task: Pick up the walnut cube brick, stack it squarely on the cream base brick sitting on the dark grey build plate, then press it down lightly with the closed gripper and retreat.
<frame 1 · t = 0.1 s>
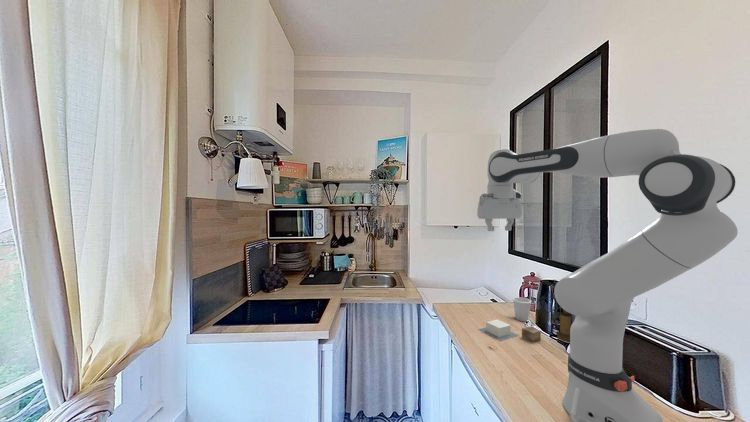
hand: (499, 230, 101), 48 cm above the countertop, fingers open, 8 cm apart
dixie cup: (521, 319, 137), on the countertop
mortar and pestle: (565, 340, 115), on the countertop
walnut brick: (531, 341, 114), on the countertop
base brick: (498, 332, 120), point 1 cm above the countertop, touching build plate
build plate: (498, 334, 120), on the countertop
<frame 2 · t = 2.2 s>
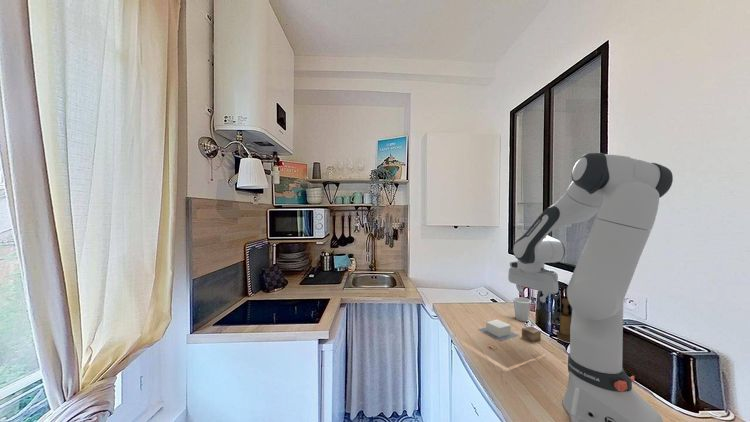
hand: (531, 298, 114), 18 cm above the countertop, fingers open, 8 cm apart
nothing on the countertop moved.
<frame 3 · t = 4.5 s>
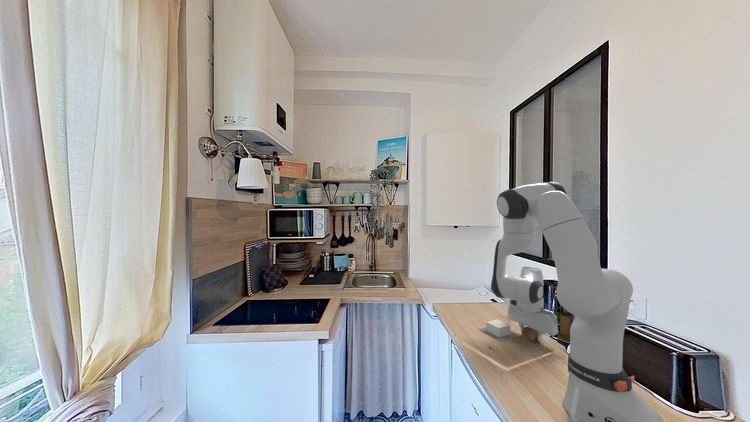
hand: (531, 337, 114), 2 cm above the countertop, fingers closed on walnut brick, 5 cm apart
walnut brick: (531, 340, 114), on the countertop, touching gripper
everything else where it was.
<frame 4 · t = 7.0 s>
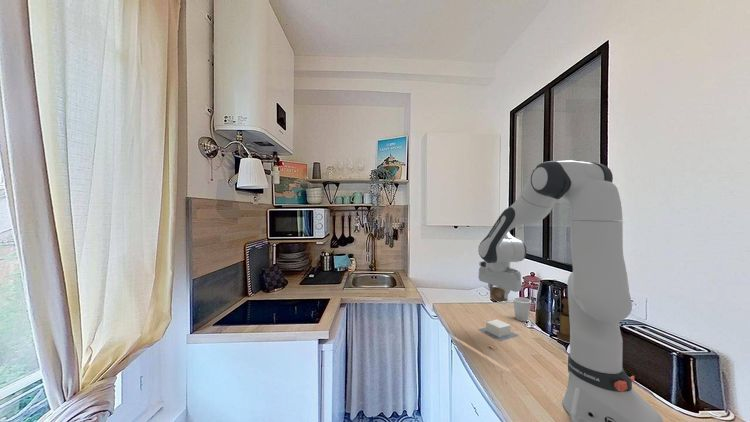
hand: (498, 296, 120), 17 cm above the countertop, fingers closed on walnut brick, 5 cm apart
walnut brick: (498, 299, 120), point 16 cm above the countertop, touching gripper
everything else where it was.
when the fingers open (8 cm above the countertop, at t = 9.6 s): walnut brick drops 1 cm, resting on base brick.
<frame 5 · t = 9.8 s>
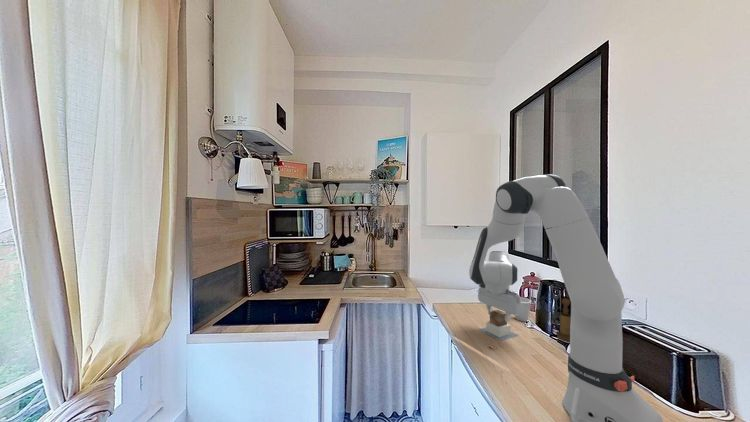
hand: (498, 317, 119), 8 cm above the countertop, fingers open, 7 cm apart
walnut brick: (498, 323, 119), point 5 cm above the countertop, touching base brick
base brick: (498, 332, 120), point 1 cm above the countertop, touching build plate, walnut brick
everything else where it was.
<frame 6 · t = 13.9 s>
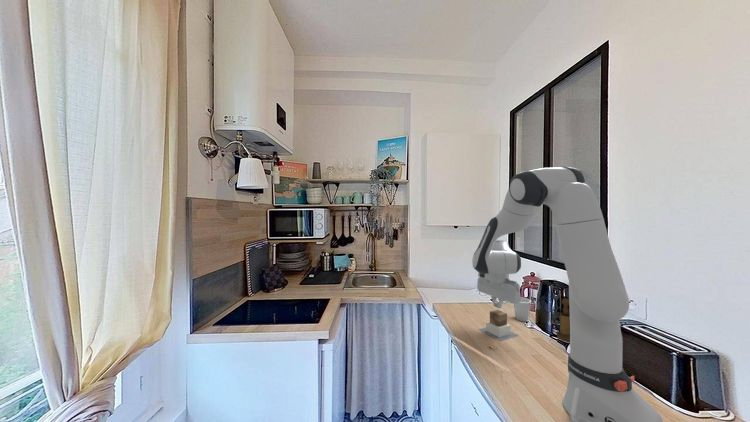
hand: (497, 307, 120), 12 cm above the countertop, fingers closed
nothing on the countertop moved.
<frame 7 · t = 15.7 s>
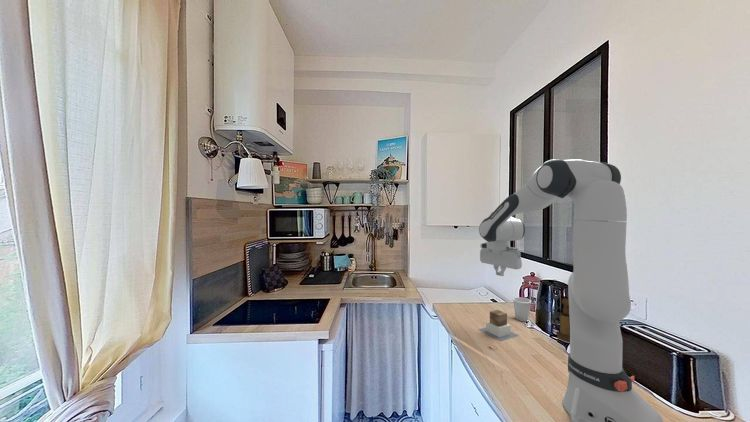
hand: (499, 275, 124), 25 cm above the countertop, fingers closed
nothing on the countertop moved.
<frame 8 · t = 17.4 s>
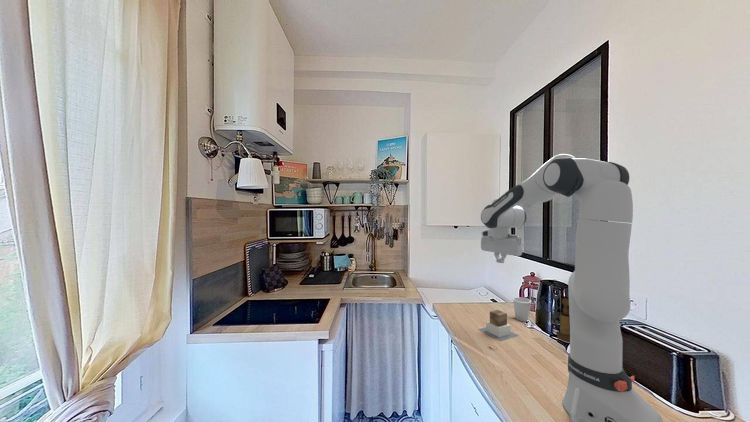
hand: (500, 262, 126), 31 cm above the countertop, fingers closed
nothing on the countertop moved.
at the end: walnut brick 0.0 cm off-centre on the base brick, point 4.0 cm above the base brick's base; walnut brick tilted 0°; base brick moved 0.0 cm from its start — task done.
